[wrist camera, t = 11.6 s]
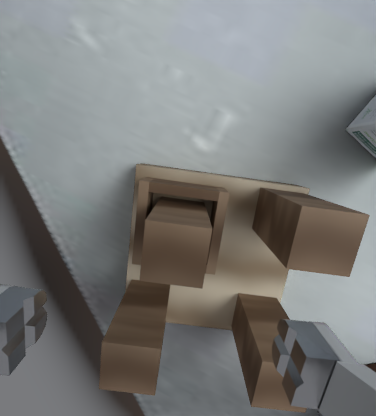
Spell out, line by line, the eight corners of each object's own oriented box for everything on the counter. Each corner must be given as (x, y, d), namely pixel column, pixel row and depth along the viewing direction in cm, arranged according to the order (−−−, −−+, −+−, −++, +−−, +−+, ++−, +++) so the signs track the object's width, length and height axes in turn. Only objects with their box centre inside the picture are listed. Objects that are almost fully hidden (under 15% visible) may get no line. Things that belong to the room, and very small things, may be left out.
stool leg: (161, 196, 21) (145, 220, 13) (204, 202, 21) (212, 228, 14) (157, 236, 22) (139, 280, 14) (197, 242, 22) (202, 288, 14)
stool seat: (141, 163, 23) (104, 169, 13) (297, 185, 23) (380, 208, 13) (129, 302, 27) (91, 393, 16) (264, 318, 27) (310, 418, 17)
